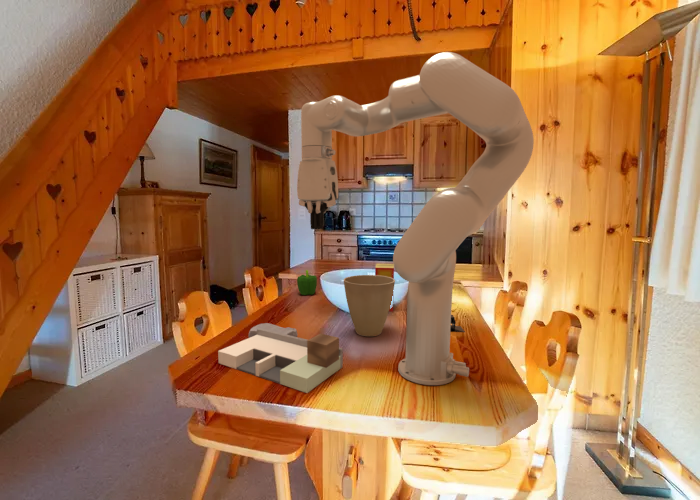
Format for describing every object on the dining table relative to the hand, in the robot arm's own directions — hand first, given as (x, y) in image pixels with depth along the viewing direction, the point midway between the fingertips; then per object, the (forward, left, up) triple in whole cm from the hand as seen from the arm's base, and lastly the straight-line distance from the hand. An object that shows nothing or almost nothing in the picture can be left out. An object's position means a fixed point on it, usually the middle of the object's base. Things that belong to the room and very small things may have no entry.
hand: (317, 228), depth 91 cm
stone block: (+13, +3, -32) cm, 34 cm away
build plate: (-26, -31, -32) cm, 52 cm away
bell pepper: (+36, -43, -31) cm, 64 cm away
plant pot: (-7, -16, -31) cm, 36 cm away
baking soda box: (0, -42, -31) cm, 52 cm away
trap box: (0, +14, -31) cm, 34 cm away
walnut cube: (-11, +13, -28) cm, 33 cm away
